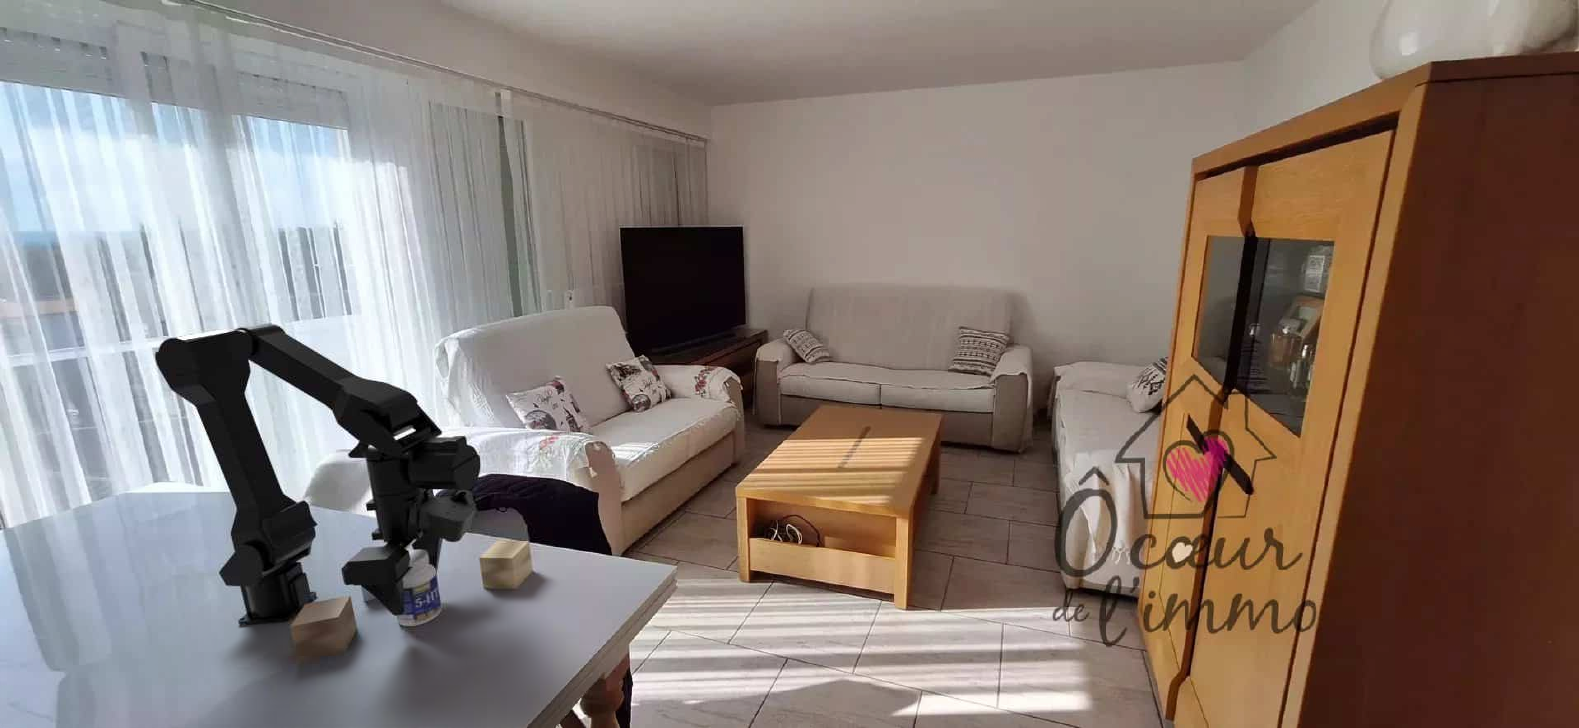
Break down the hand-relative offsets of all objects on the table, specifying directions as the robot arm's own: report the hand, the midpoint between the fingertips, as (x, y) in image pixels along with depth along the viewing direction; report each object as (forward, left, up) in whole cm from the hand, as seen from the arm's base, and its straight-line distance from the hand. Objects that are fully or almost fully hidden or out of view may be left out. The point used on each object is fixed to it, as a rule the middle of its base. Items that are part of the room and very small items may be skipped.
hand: (416, 594), depth 86 cm
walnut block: (-9, -5, -3) cm, 11 cm away
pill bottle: (0, 0, -3) cm, 3 cm away
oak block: (+9, +8, -3) cm, 13 cm away
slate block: (-9, +8, -3) cm, 12 cm away
